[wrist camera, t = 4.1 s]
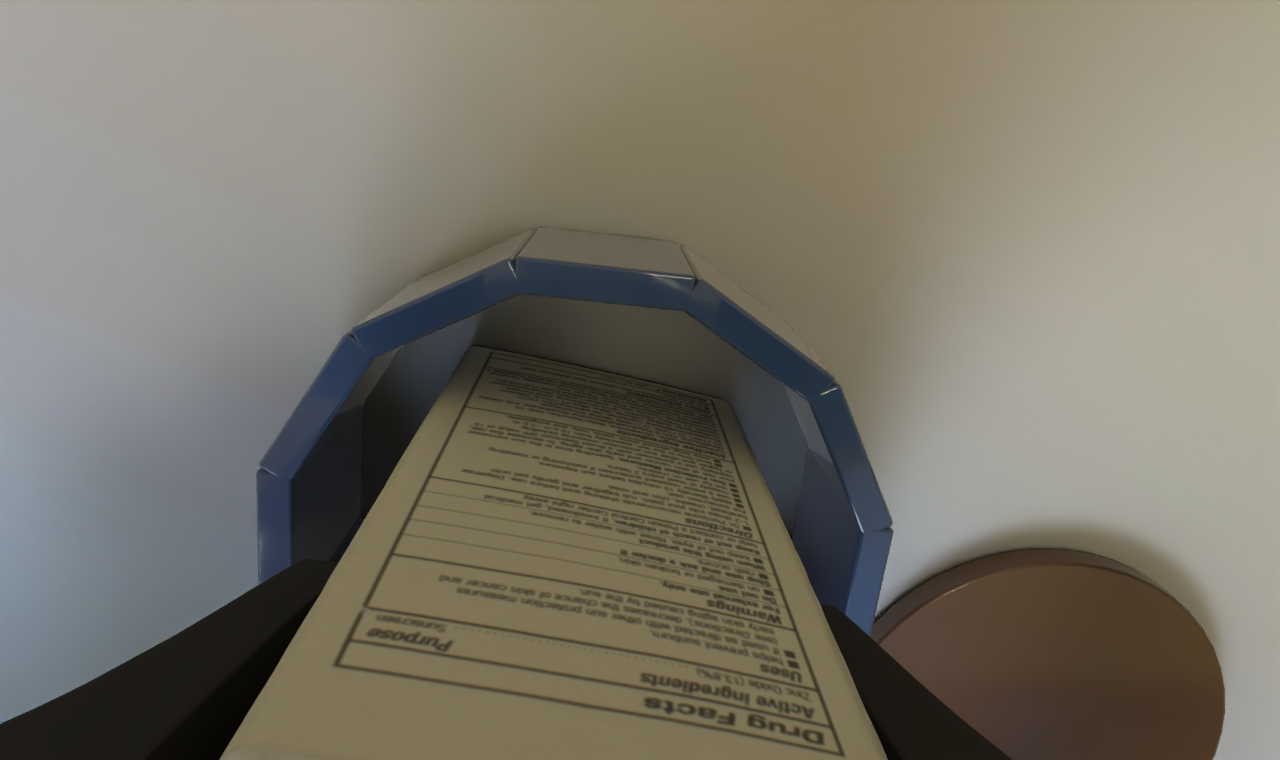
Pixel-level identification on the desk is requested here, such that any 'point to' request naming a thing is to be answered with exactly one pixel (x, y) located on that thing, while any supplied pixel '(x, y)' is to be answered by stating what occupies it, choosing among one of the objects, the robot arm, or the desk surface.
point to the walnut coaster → (1062, 658)
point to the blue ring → (599, 272)
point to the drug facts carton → (565, 593)
